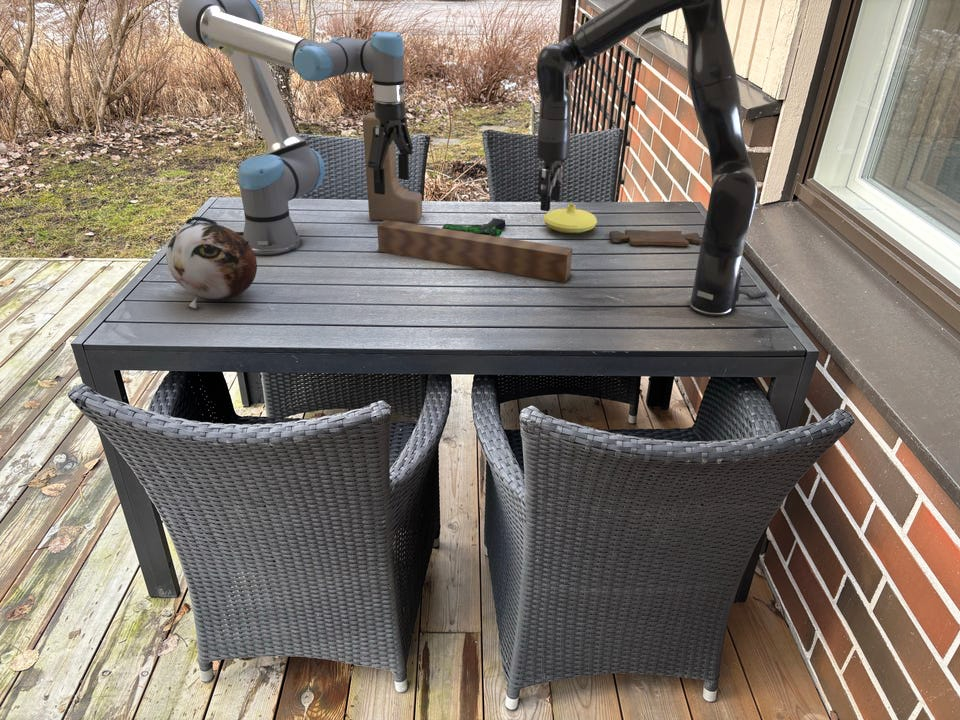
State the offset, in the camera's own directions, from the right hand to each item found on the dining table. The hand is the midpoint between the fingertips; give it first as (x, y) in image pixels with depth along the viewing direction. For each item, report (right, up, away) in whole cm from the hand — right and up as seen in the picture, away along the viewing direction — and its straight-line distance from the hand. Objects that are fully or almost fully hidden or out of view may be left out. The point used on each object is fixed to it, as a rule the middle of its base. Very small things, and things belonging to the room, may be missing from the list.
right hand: (550, 205), depth 173 cm
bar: (-19, -12, +15) cm, 27 cm away
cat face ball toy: (-79, -22, -4) cm, 82 cm away
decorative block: (-43, +6, +44) cm, 62 cm away
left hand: (-40, +8, +13) cm, 43 cm away
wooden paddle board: (+33, -3, +31) cm, 45 cm away
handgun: (-18, 0, +35) cm, 39 cm away
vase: (+9, +1, +38) cm, 39 cm away
